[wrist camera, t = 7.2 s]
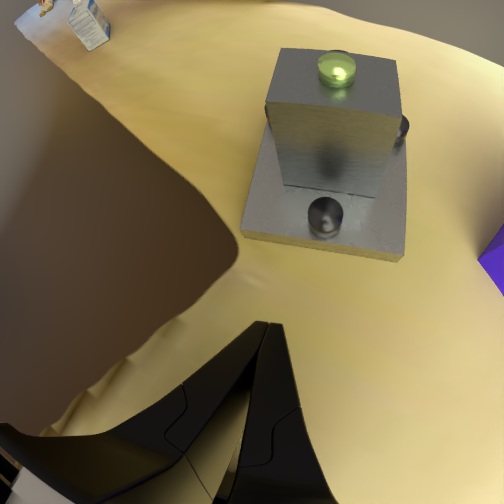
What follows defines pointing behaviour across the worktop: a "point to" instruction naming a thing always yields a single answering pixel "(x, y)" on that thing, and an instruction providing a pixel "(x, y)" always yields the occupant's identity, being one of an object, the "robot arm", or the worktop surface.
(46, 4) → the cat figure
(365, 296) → the worktop surface
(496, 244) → the bracket
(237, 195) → the worktop surface
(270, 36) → the worktop surface
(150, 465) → the robot arm
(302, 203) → the plate
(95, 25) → the medicine box
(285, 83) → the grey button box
